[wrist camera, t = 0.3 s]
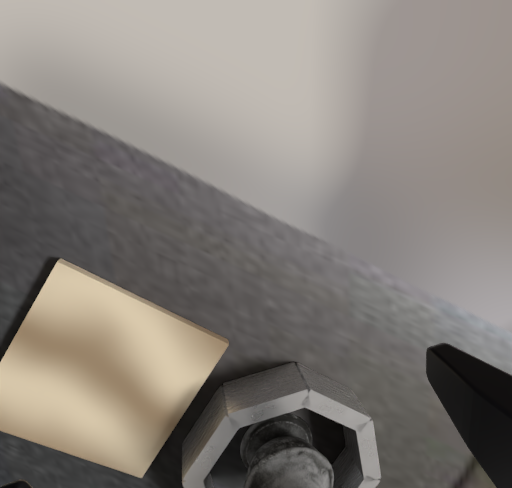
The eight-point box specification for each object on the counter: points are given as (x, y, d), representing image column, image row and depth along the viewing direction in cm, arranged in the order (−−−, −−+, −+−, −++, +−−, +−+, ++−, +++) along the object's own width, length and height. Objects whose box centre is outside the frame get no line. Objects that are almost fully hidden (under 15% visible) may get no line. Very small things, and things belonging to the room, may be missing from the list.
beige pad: (142, 470, 26) (141, 478, 25) (-27, 412, 23) (-33, 419, 22) (228, 339, 24) (229, 344, 24) (60, 258, 21) (57, 261, 21)
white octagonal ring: (297, 532, 30) (310, 573, 27) (154, 484, 26) (151, 526, 23) (389, 408, 28) (412, 438, 25) (250, 339, 25) (259, 364, 22)
